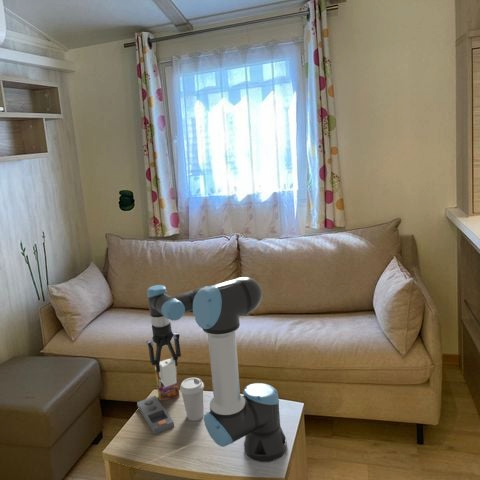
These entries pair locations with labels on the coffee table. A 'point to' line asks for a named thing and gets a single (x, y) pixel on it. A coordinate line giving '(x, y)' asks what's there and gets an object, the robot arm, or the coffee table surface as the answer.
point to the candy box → (166, 388)
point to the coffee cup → (193, 398)
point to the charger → (168, 372)
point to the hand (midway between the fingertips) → (168, 375)
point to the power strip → (155, 414)
